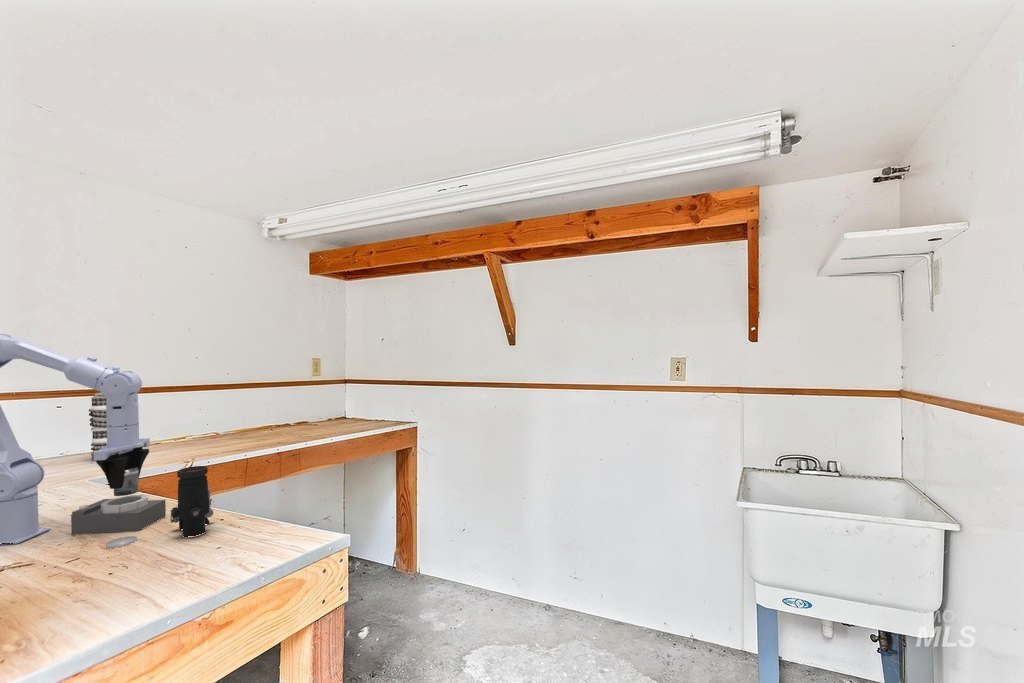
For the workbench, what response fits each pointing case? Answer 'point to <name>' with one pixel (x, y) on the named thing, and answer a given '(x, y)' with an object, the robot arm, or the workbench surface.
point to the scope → (192, 501)
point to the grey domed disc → (121, 541)
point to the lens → (128, 482)
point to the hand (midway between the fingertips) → (124, 485)
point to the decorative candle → (98, 423)
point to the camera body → (117, 515)
